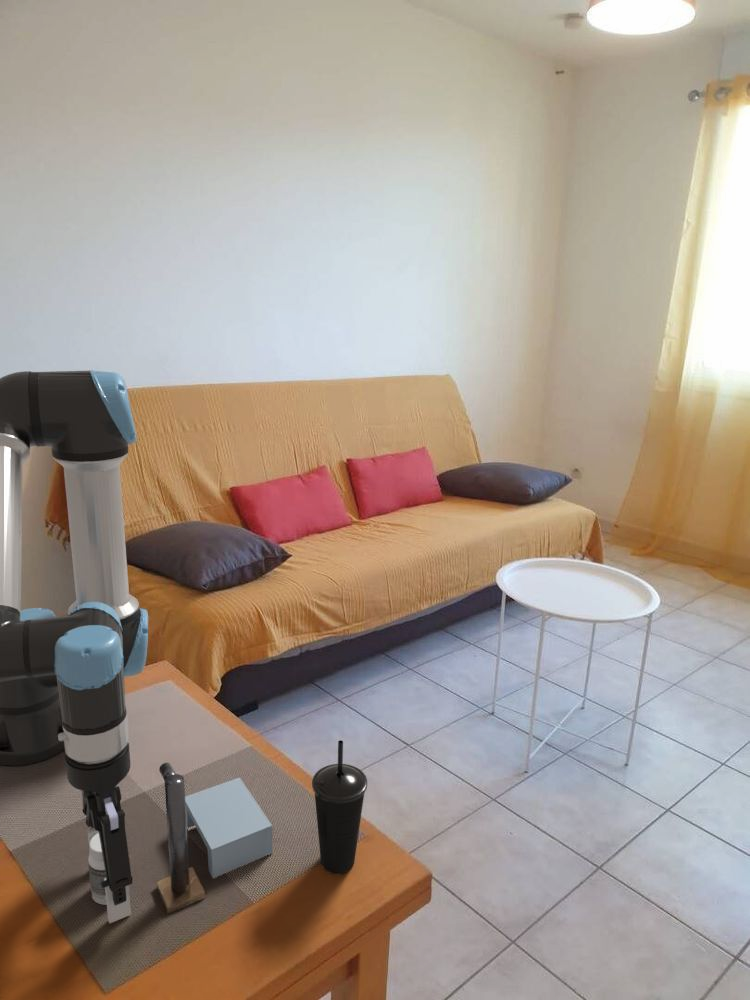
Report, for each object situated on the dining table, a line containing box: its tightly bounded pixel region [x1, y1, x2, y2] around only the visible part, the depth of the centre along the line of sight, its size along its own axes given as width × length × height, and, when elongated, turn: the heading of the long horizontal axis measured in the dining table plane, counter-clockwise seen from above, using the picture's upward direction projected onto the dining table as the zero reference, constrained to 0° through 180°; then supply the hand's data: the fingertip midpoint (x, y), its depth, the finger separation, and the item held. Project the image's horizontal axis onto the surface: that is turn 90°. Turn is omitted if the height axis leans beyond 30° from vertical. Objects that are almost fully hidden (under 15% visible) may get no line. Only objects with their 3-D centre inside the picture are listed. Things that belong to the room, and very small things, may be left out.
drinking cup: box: [311, 740, 368, 875], centre depth 100 cm, size 8×8×20 cm
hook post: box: [155, 762, 206, 915], centre depth 95 cm, size 6×5×18 cm
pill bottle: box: [87, 833, 107, 906], centre depth 95 cm, size 5×5×8 cm
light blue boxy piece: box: [185, 777, 273, 879], centre depth 106 cm, size 12×9×5 cm
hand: (110, 890), depth 97 cm, fingers open, 9 cm apart
